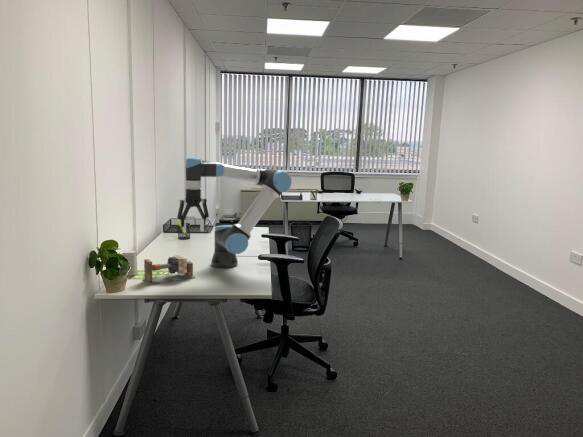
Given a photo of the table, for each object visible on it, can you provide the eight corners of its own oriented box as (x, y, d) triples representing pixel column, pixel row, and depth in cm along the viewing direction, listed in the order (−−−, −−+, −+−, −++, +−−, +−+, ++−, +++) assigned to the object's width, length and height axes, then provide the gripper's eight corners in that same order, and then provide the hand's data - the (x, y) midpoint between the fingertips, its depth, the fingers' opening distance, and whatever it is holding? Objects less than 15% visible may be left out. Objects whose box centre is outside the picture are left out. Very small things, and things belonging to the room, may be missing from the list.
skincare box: (137, 273, 228) (137, 250, 226) (135, 275, 224) (134, 252, 222) (125, 273, 228) (124, 250, 226) (122, 275, 223) (121, 252, 221)
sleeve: (180, 269, 228) (180, 254, 227) (186, 273, 222) (186, 258, 220) (173, 270, 226) (173, 255, 224) (179, 274, 219) (179, 259, 218)
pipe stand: (188, 273, 231) (188, 253, 229) (194, 277, 224) (194, 257, 222) (142, 280, 217) (142, 258, 216) (148, 285, 210) (148, 263, 208)
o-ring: (170, 270, 225) (170, 255, 223) (176, 274, 218) (176, 259, 217) (167, 271, 224) (167, 256, 222) (173, 275, 217) (173, 259, 216)
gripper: (209, 187, 230) (209, 228, 234) (169, 188, 217) (170, 232, 221) (216, 188, 224) (215, 231, 228) (175, 189, 211) (175, 235, 215)
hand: (193, 231), depth 224 cm, fingers open, 9 cm apart
